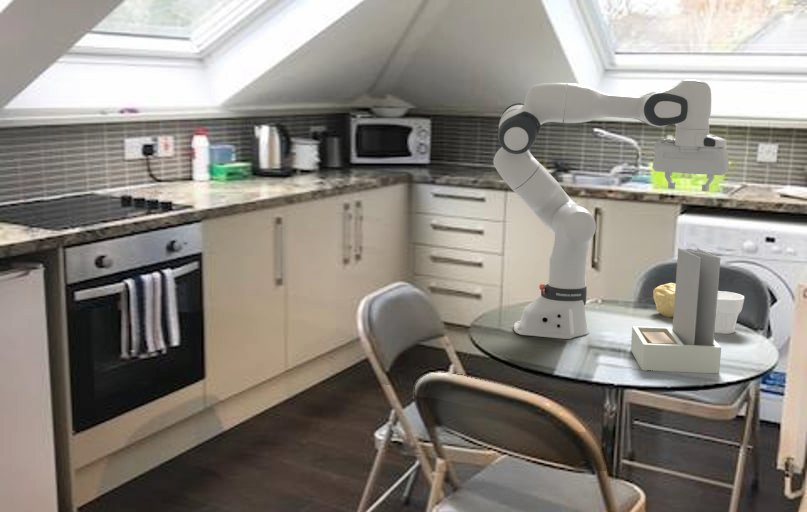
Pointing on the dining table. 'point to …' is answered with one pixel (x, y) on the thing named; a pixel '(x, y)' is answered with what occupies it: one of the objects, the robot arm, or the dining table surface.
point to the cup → (727, 311)
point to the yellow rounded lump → (665, 299)
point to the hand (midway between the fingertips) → (688, 189)
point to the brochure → (696, 297)
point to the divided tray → (673, 353)
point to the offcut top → (657, 338)
